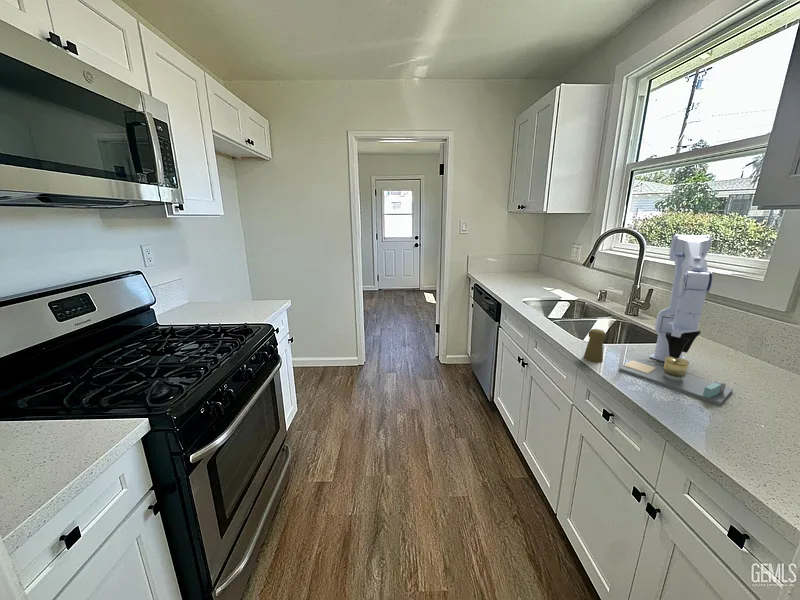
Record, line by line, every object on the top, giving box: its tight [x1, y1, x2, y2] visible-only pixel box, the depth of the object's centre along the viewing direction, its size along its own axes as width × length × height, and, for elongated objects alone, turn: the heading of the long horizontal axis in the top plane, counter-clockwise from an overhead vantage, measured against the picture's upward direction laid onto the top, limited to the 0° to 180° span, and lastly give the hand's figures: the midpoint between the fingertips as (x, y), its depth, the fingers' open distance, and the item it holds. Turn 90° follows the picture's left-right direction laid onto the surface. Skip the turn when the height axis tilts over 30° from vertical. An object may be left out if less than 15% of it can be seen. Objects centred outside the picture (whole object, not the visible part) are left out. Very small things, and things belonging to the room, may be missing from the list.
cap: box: [663, 356, 690, 377], centre depth 102 cm, size 6×6×4 cm
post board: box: [618, 358, 734, 406], centre depth 103 cm, size 13×25×2 cm, turn 35°
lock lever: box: [703, 380, 727, 398], centre depth 93 cm, size 8×2×3 cm, turn 116°
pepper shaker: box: [583, 328, 607, 364], centre depth 117 cm, size 6×6×11 cm
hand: (678, 354), depth 101 cm, fingers open, 7 cm apart
